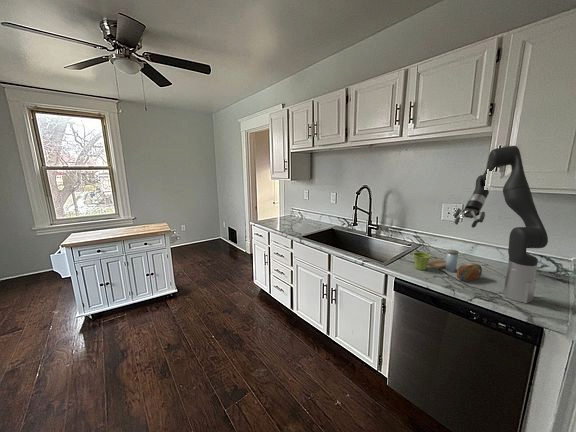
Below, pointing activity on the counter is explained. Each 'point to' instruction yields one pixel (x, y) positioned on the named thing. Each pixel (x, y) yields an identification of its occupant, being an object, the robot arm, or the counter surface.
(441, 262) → the tan board
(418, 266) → the plant pot
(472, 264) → the tin
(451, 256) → the blue jar
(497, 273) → the counter surface
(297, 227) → the counter surface
